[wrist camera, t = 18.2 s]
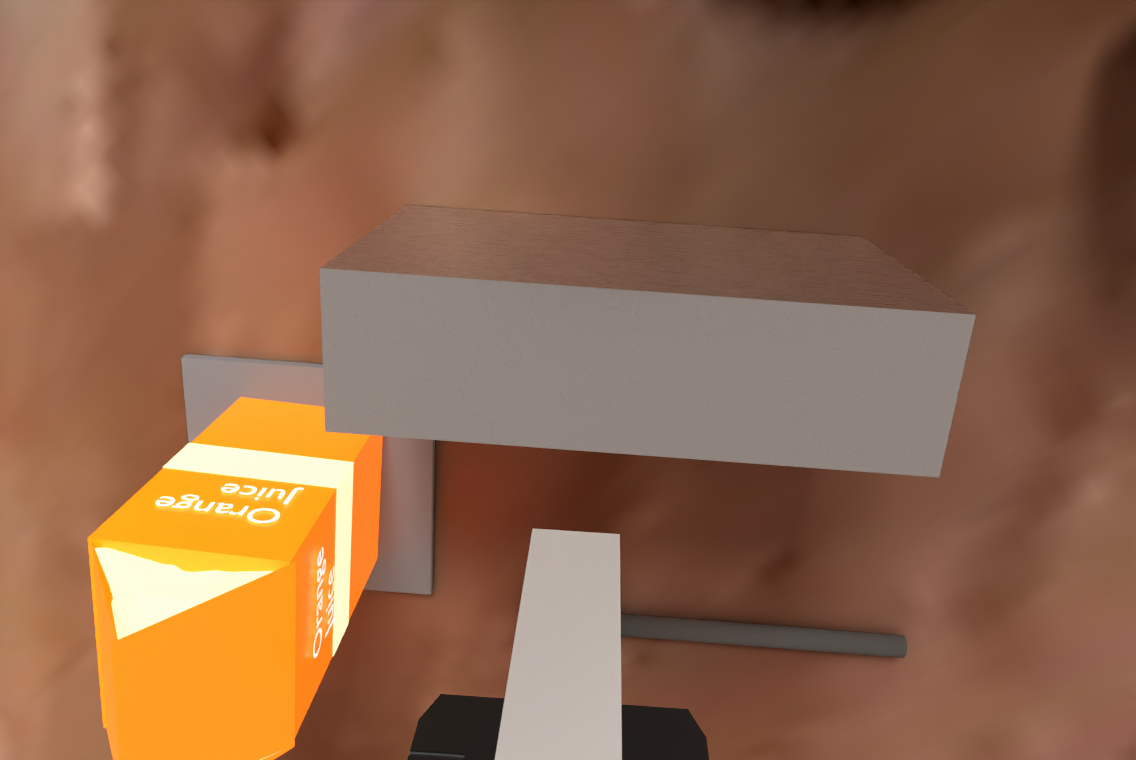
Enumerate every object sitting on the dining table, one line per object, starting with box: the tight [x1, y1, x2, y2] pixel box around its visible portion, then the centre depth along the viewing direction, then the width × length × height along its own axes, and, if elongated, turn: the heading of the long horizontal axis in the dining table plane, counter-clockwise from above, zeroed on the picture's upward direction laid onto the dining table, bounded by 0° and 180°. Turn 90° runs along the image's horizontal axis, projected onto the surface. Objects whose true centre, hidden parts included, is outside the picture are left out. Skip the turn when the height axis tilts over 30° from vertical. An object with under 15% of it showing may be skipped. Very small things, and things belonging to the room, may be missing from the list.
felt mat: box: [181, 354, 435, 595], centre depth 48 cm, size 13×13×1 cm
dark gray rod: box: [621, 614, 907, 658], centre depth 50 cm, size 1×16×1 cm, turn 86°
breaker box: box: [320, 205, 976, 477], centre depth 38 cm, size 7×22×14 cm, turn 86°
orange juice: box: [88, 397, 383, 760], centre depth 38 cm, size 8×9×20 cm
